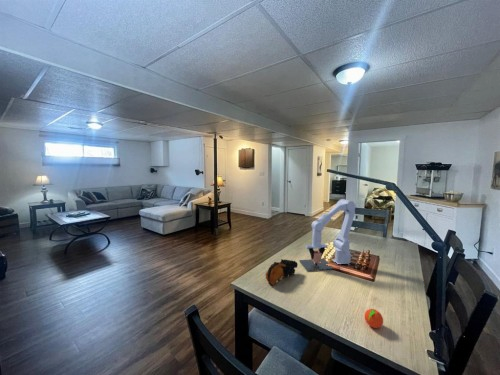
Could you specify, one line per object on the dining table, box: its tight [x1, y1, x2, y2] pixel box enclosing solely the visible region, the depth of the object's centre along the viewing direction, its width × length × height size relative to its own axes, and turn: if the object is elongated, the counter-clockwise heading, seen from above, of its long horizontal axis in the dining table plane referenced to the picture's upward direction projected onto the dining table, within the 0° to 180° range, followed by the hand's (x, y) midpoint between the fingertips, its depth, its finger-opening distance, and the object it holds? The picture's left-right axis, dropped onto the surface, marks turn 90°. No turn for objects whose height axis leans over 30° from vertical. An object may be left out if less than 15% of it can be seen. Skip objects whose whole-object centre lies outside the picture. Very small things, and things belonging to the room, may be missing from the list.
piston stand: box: [298, 258, 335, 272], centre depth 144 cm, size 18×14×5 cm
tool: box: [265, 258, 299, 286], centre depth 128 cm, size 8×23×15 cm, turn 130°
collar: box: [310, 249, 323, 262], centre depth 144 cm, size 5×5×6 cm
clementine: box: [364, 308, 384, 329], centre depth 90 cm, size 8×7×7 cm
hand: (316, 258), depth 144 cm, fingers closed on collar, 5 cm apart
